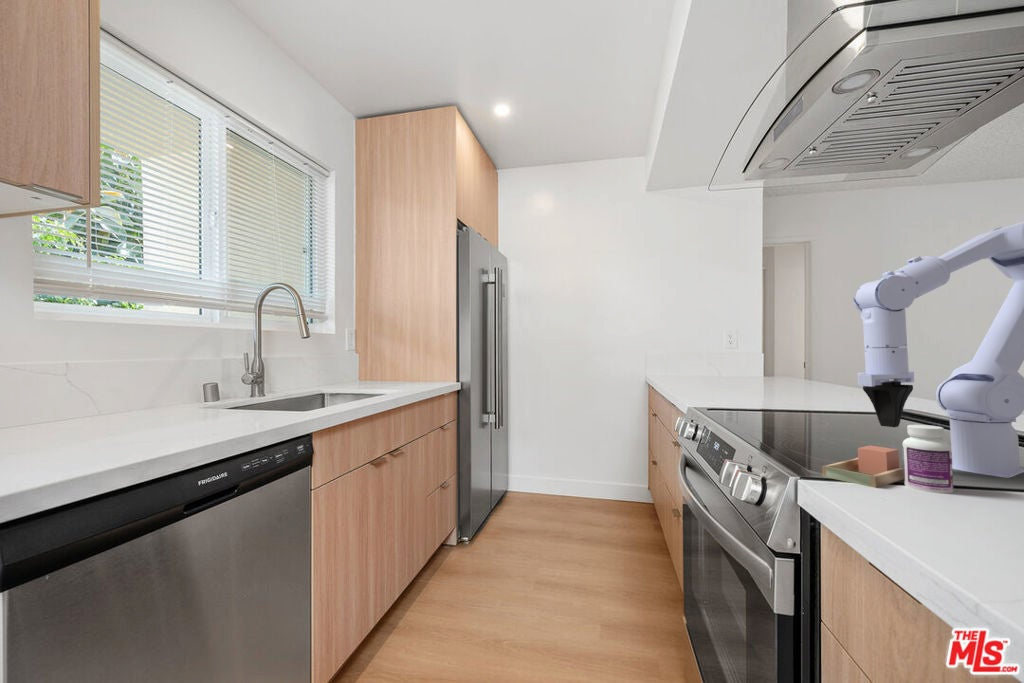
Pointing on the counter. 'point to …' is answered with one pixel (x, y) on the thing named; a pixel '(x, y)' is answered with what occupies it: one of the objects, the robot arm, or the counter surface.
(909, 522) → the counter surface
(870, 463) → the red block
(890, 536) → the counter surface
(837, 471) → the box
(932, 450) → the pill bottle
